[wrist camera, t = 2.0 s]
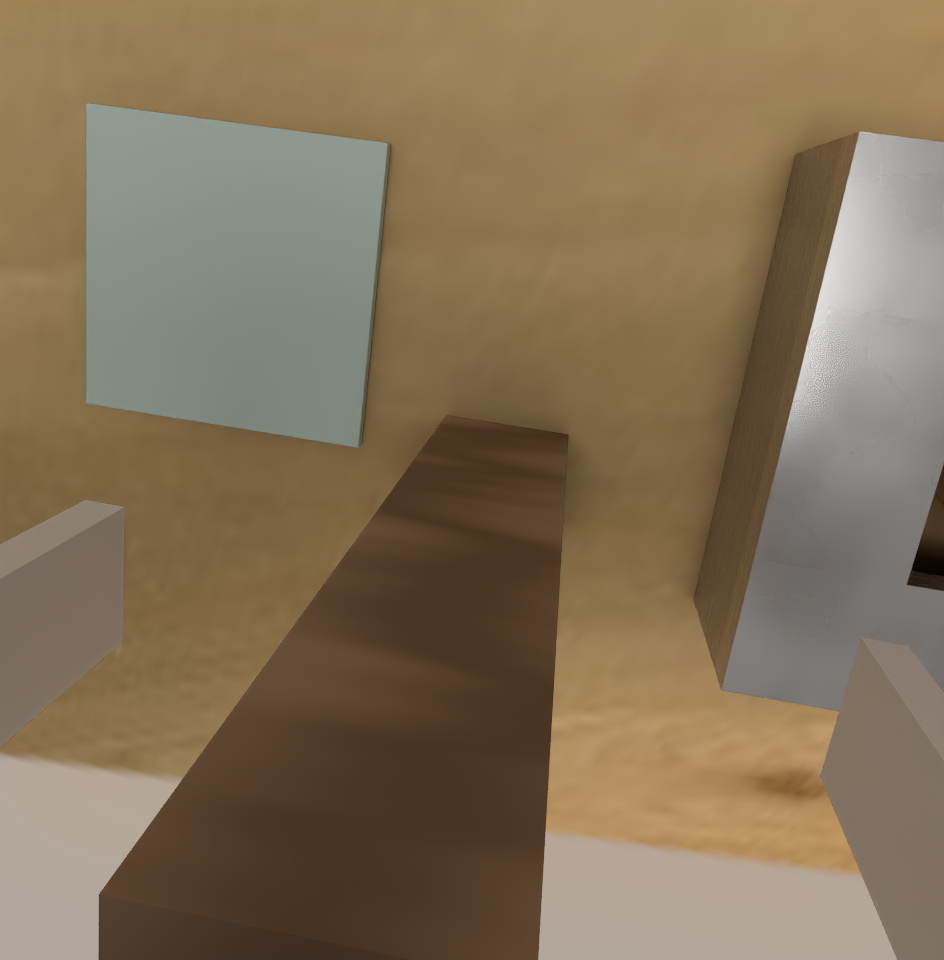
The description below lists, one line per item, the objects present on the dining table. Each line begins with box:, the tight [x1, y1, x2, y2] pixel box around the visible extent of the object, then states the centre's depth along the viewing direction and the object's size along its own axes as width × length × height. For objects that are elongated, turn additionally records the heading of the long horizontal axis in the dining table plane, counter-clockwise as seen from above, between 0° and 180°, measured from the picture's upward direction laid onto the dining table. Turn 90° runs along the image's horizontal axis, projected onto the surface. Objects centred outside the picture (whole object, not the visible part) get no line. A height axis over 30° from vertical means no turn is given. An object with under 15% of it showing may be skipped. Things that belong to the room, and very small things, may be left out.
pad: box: [86, 103, 391, 447], centre depth 23 cm, size 8×8×1 cm
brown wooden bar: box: [99, 416, 568, 960], centre depth 16 cm, size 3×3×18 cm
